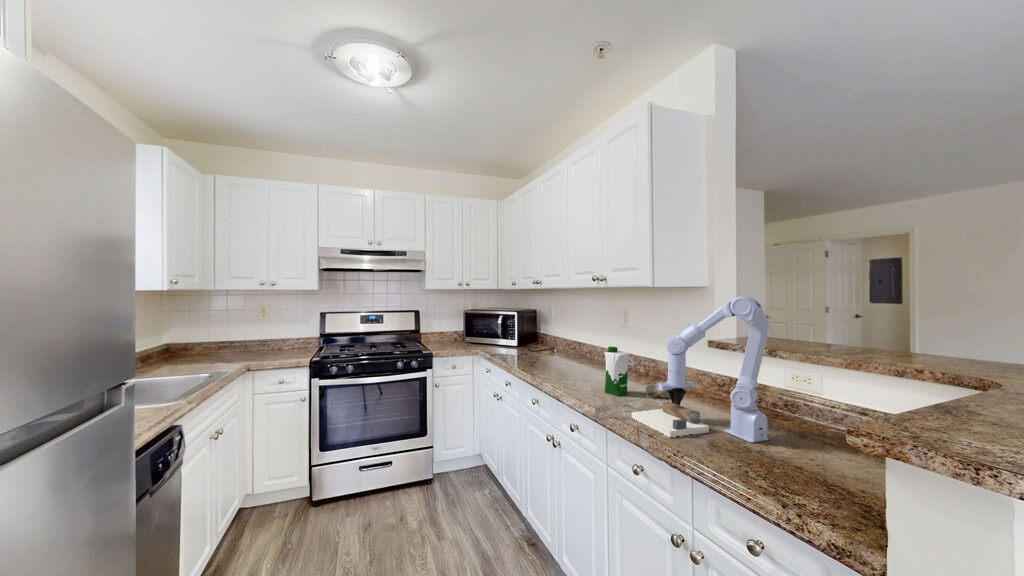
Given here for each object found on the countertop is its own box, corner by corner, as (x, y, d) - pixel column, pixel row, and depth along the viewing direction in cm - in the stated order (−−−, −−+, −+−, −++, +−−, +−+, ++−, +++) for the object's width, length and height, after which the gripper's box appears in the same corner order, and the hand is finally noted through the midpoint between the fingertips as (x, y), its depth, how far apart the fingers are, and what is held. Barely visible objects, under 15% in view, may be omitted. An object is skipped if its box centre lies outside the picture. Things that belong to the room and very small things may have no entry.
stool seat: (708, 432, 117) (709, 418, 117) (669, 438, 111) (670, 423, 111) (667, 413, 133) (667, 401, 133) (631, 418, 128) (631, 405, 128)
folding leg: (702, 422, 119) (702, 413, 119) (695, 423, 117) (695, 414, 117) (669, 409, 131) (669, 401, 131) (662, 411, 129) (662, 402, 129)
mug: (644, 392, 162) (657, 374, 161) (664, 407, 156) (677, 388, 155) (639, 392, 156) (652, 373, 155) (659, 407, 150) (673, 387, 149)
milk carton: (612, 389, 165) (613, 345, 165) (630, 393, 159) (631, 348, 159) (601, 392, 160) (602, 347, 160) (619, 397, 153) (620, 350, 153)
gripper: (683, 367, 135) (682, 403, 135) (652, 369, 130) (651, 407, 130) (698, 371, 129) (698, 409, 129) (667, 374, 123) (666, 414, 123)
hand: (675, 409), depth 129 cm, fingers closed
